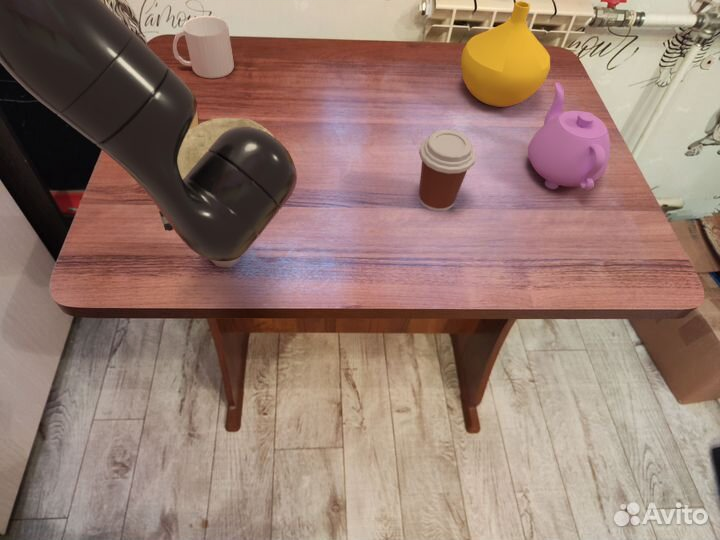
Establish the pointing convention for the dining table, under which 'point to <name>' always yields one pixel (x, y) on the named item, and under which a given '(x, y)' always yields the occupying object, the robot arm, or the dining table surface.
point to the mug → (207, 46)
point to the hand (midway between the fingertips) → (214, 209)
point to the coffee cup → (444, 168)
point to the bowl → (207, 139)
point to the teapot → (570, 146)
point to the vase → (505, 62)
